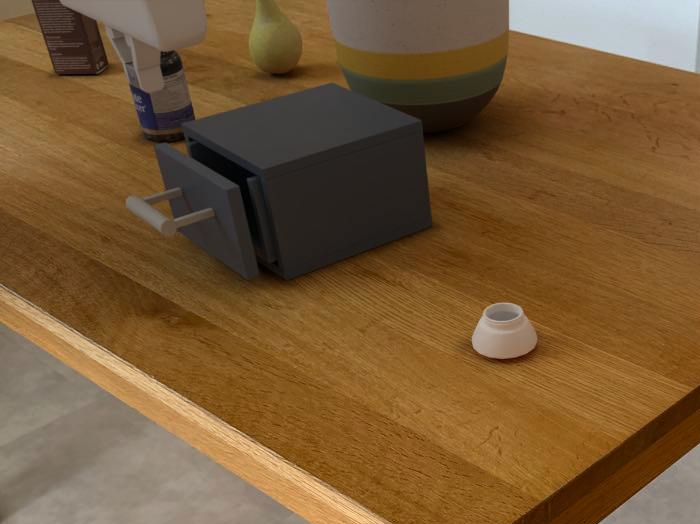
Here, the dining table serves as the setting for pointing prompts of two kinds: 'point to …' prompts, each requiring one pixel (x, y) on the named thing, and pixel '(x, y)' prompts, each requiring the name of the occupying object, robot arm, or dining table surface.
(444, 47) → the planter
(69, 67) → the box
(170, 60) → the pill bottle
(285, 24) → the fruit
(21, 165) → the dining table surface
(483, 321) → the lidless jar
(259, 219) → the drawer
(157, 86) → the robot arm
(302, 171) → the cabinet
